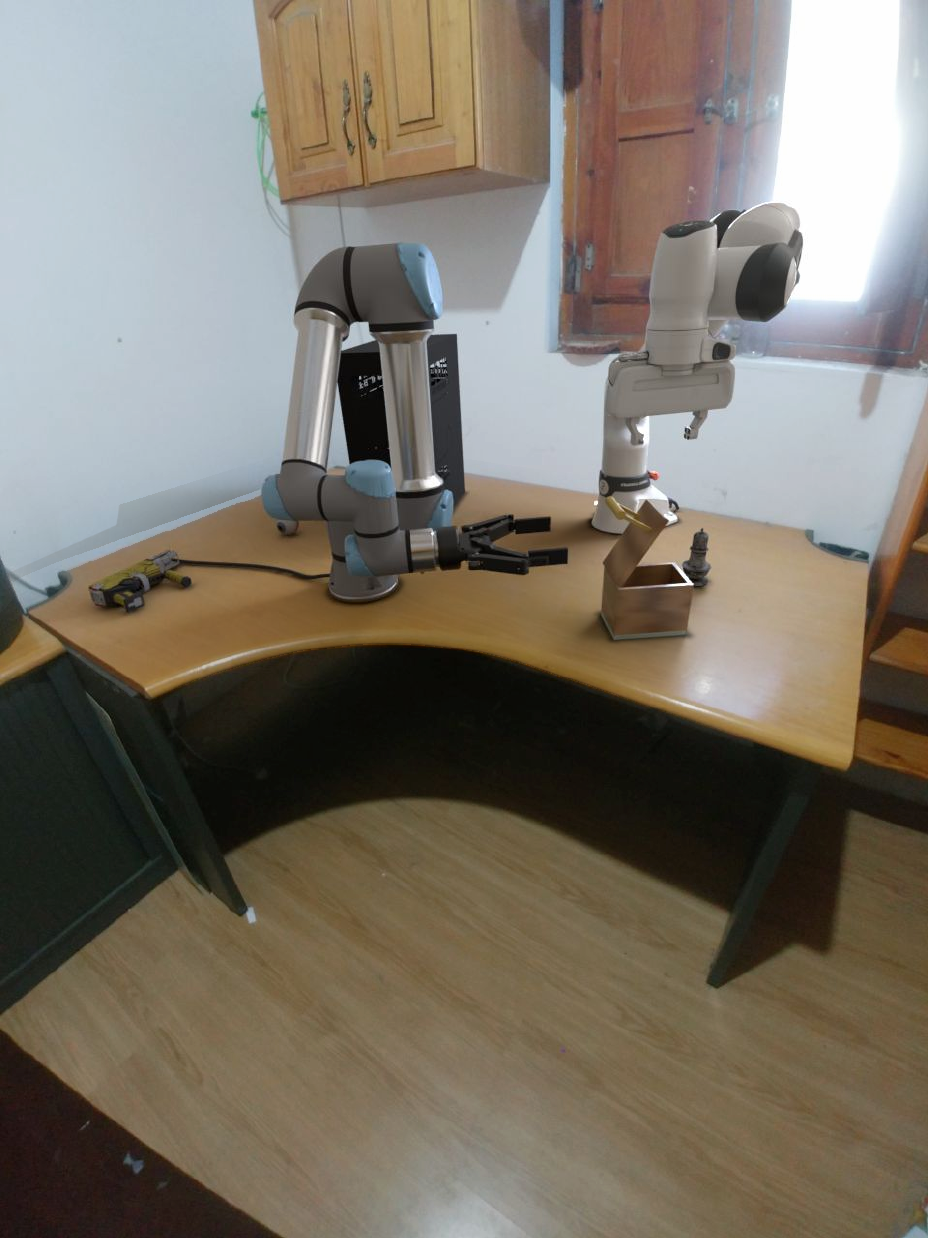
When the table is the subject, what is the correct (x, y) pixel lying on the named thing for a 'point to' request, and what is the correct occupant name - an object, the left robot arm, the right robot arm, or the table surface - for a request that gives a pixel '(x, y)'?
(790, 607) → the table surface
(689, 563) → the salt shaker
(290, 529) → the eyeball
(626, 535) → the lid
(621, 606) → the chest
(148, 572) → the toy gun
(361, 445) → the black box
